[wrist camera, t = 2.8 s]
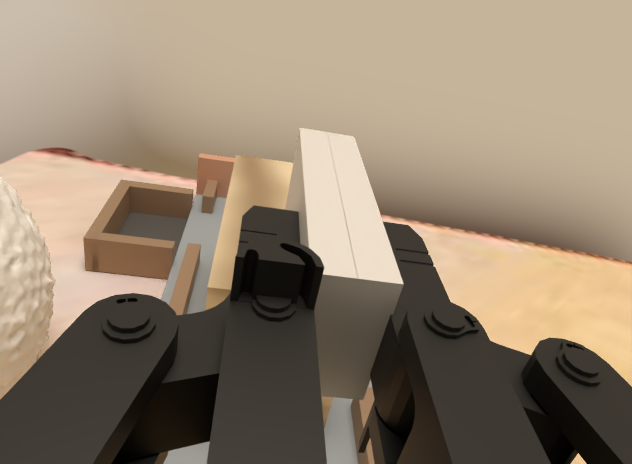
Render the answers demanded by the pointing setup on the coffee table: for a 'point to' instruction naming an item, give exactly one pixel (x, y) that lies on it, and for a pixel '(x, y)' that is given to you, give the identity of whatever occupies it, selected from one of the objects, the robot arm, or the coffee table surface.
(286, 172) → the maple block
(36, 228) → the decorative orb
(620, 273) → the coffee table surface
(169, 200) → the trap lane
